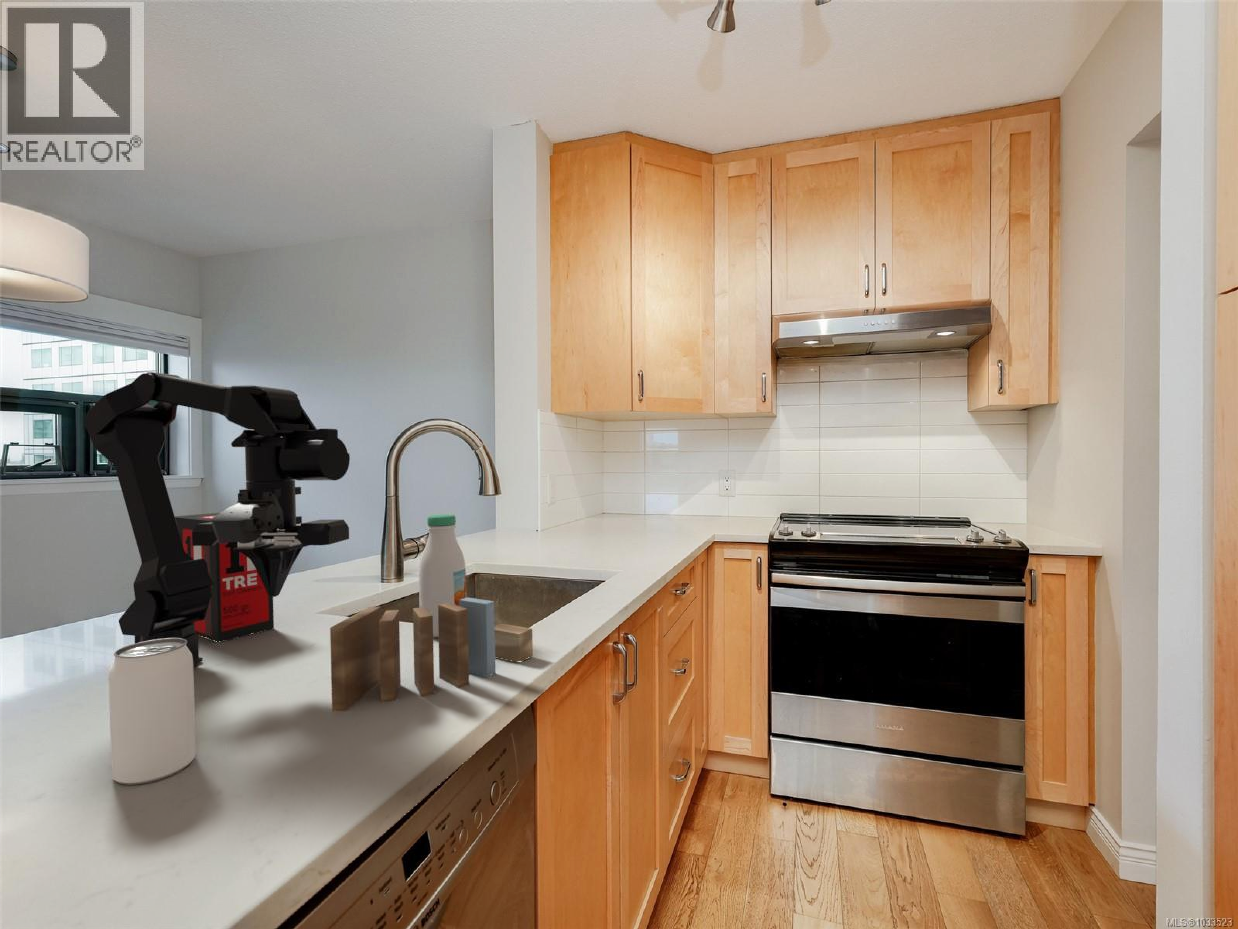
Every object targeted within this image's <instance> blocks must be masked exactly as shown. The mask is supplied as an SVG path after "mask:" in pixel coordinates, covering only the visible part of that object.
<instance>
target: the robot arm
mask: <svg viewBox="0 0 1238 929" xmlns="http://www.w3.org/2000/svg"><path fill="white" fill-rule="evenodd" d="M149 402H157V403H156V404H155V405H153V406H152V405H151V404H148V403H149ZM179 406H180V407H181V406H182V407H185V408H191V409H196V410H201V411H205V412H210V413H215V414H219V415H221V416H223V417H225V419H226V420H227V421H228V422H230V423H232V424H235V425H237V426H240V427H241V428H244V429H243V430H242V432H241V434H240V435H239V436H237V437H236V438H234V439H233V441H231V443H230V445H231V447H233V448H244V452H245V453H244V455H245V456H244V457H245V458H244V459H245V460H244V462H245V464H244V465H245V488H244V489H243V488H242V489H239V490H238V493H237V501H236V504H234V505H230V506H228V507H227V508H225V509H224V510H222V511H221V512H218V513H219V514H217V515H216V516H214V517H213V518H212V519H211V522H208V523H202V524H197V526H196V527H195V529H194V530H193V532H192V546H212V545H215V544H216V543H217V542H218V543H221V544H225V543H227V542H237V547H236V548H233V549H234V551H235V552H241V553H242V554H244V555H245V556H247V557H248V558H249V559H250V560H251V561H252V563H253V565H254V566H255V568H256V570H257V572H258V574H259V576H260V579H261V581H262V583H263V585H264V587H265V590H266V592H267V594H268V596H269V597H273V598H274V597H278V596H279V595H280V594H281V591H282V589H283V587H284V585H285V582H286V581H287V578H288V576H289V574H290V572H291V570H292V568H293V565H294V563H295V562H296V560H297V558H298V556H299V555H300V553H301V551H302V550H303V548H305V547H309V546H328V545H333V544H336V543H340V542H343V541H348V540H349V539H350V526H349V525H348V523H347V522H346V521H345V519H318V520H317V519H316V520H312V521H308V522H303V519H302V518H303V517H302V516H303V515H302V516H301V515H299V516H297V509H296V508H297V507H296V506H297V505H296V501H297V500H296V499H297V498H296V496H297V495H302V487H301V486H296V481H338V480H341V479H342V478H343V477H344V476H345V475H346V474H347V472H348V470H349V466H350V460H351V458H350V453H349V452H348V449H347V447H346V444H345V443H344V442H343V440H342V439H340V438H339V431H338V429H337V428H317V427H316V426H315V424H314V423H313V421H312V420H311V418H310V417H309V416H308V414H307V412H306V411H305V410H304V408H303V406H302V405H301V401H300V399H299V397H298V394H297V393H296V392H295V391H292V390H289V389H284V388H275V387H268V386H267V387H266V386H259V385H230V386H226V385H225V386H224V385H219V384H216V383H215V384H213V383H209V382H205V381H198V380H193V379H188V378H184V377H181V376H179V375H178V374H177V375H176V374H169V373H162V372H155V371H151V372H149V371H148V372H144V373H141V374H139V375H138V376H137V377H136V378H135V379H134V380H133V381H132V382H131V383H129V384H126V385H124V386H122V387H119V388H117V389H115V390H113V391H110V392H107V393H106V394H104V395H103V396H102V397H101V398H100V399H99V400H98V401H97V402H96V403H95V404H94V405H93V406H92V407H91V408H90V409H89V410H87V412H86V414H85V416H84V425H85V429H86V431H87V433H88V435H89V438H90V440H91V442H92V444H93V448H94V449H95V450H96V452H97V451H98V453H99V454H100V455H102V457H104V458H105V459H106V460H107V461H109V462H110V463H111V464H112V465H113V467H114V468H115V471H116V472H115V473H116V475H117V478H118V483H119V486H120V488H121V492H122V497H123V499H124V504H125V507H126V511H127V514H128V518H129V521H130V524H131V527H132V528H131V529H132V533H133V535H134V538H135V539H134V540H135V542H136V546H137V549H138V552H139V553H138V554H139V557H140V562H141V565H140V567H139V569H138V572H137V573H136V574H137V575H136V576H135V579H134V581H133V592H134V593H133V594H134V600H133V601H132V602H131V604H130V605H129V606H128V607H127V609H126V610H125V612H123V614H122V615H121V617H119V619H118V623H119V624H118V625H119V628H120V630H121V633H122V635H123V636H134V644H135V643H139V642H144V641H149V640H155V639H163V638H182V639H185V640H187V644H186V646H187V648H188V649H189V650H190V652H191V654H192V657H193V667H194V666H196V665H198V664H200V663H201V662H203V661H204V660H203V659H204V658H203V657H200V656H199V654H200V652H199V651H200V649H199V636H198V634H195V623H193V622H196V621H201V620H204V619H205V616H206V612H207V609H208V605H209V601H210V599H211V598H212V588H211V585H213V584H214V583H213V581H212V580H211V578H210V576H209V573H208V567H207V563H206V561H205V560H204V559H203V558H202V559H197V560H194V559H193V558H192V557H191V556H189V555H188V554H187V553H186V552H185V550H184V547H183V544H182V540H181V537H180V533H179V530H178V526H177V523H176V519H175V512H174V510H173V506H172V502H171V499H170V495H169V492H168V488H167V485H166V481H165V479H164V474H163V470H162V468H161V464H160V460H159V457H160V455H161V452H162V449H163V447H164V445H165V442H166V441H167V440H166V431H165V428H167V427H168V426H169V425H171V423H172V422H174V421H175V420H176V418H177V409H178V407H179ZM271 539H272V540H273V541H272V542H271Z"/></svg>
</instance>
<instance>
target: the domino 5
mask: <svg viewBox="0 0 1238 929" xmlns="http://www.w3.org/2000/svg"><path fill="white" fill-rule="evenodd" d="M459 606H460V607H463V608H466V609H468V658H469V674H473V675H476V676H480V675H481V677H486V678H489V677H491V676H492V675H491V674H493V675H495V674H496V658H495V626H496V624H495V601H493V600H489V599H488V600H486V599H479V598H475V597H474V598H473V597H466V598H464V599H461V600H459ZM494 673H495V674H494ZM490 675H491V676H490Z"/></svg>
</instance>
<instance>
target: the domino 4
mask: <svg viewBox="0 0 1238 929" xmlns="http://www.w3.org/2000/svg"><path fill="white" fill-rule="evenodd" d="M438 630H439V637H438V670H439V673H438V674H439V675H438V676H439V679H440V680H442V681H444V682H446V683H448V684H450V685H451V686H454V687H455V688H457V689H459V688H462V687H465V686H469V685H470V680H469V679H470V673H469V658H468V609H466V608H463V607H460V606H457V605H455V604H452V603H444V604H439V605H438Z"/></svg>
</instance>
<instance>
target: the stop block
mask: <svg viewBox="0 0 1238 929" xmlns="http://www.w3.org/2000/svg"><path fill="white" fill-rule="evenodd" d="M533 648H534V647H533V628H530V627H524V626H518V625H512V624H507V623H499V624H497V625H496V624H495V657H498V658H503V659H507V660H506V661H508V660H512V661H511V662H513V661H523V660H525V659H526V658H528V657H531V656H533V655H534V654H533V653H534V650H533ZM533 657H534V656H533ZM498 658H497V659H498ZM531 658H532V657H531ZM503 659H502V660H503ZM525 661H526V660H525ZM523 662H524V661H523Z"/></svg>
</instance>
